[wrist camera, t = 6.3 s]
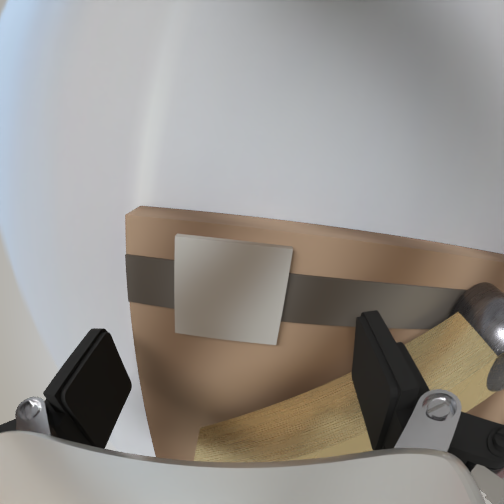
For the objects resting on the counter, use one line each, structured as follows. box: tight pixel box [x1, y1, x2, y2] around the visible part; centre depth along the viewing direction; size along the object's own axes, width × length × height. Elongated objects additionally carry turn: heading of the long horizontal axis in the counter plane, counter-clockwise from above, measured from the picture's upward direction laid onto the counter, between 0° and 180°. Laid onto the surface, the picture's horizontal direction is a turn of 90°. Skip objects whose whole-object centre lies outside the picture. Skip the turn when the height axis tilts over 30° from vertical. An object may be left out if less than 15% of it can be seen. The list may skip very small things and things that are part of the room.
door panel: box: [125, 206, 504, 461], centre depth 14 cm, size 31×17×2 cm, turn 84°
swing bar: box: [194, 282, 504, 462], centre depth 11 cm, size 16×3×4 cm, turn 121°
